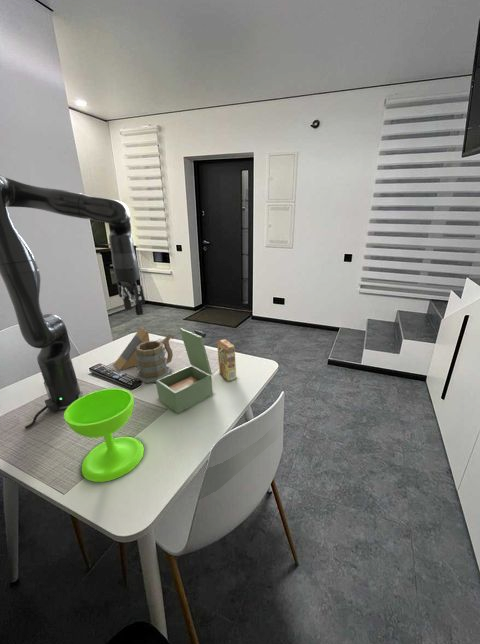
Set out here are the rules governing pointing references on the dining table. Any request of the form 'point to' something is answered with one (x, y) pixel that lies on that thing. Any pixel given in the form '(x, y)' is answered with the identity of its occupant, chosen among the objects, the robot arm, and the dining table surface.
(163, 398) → the bin
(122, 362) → the sandwich container
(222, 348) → the candy box
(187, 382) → the orange-brown rectangular block
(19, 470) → the dining table surface
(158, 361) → the tankard
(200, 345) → the lid
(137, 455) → the wineglass
